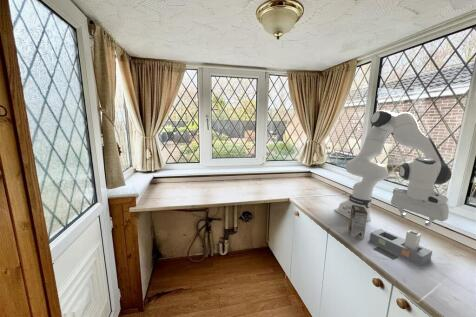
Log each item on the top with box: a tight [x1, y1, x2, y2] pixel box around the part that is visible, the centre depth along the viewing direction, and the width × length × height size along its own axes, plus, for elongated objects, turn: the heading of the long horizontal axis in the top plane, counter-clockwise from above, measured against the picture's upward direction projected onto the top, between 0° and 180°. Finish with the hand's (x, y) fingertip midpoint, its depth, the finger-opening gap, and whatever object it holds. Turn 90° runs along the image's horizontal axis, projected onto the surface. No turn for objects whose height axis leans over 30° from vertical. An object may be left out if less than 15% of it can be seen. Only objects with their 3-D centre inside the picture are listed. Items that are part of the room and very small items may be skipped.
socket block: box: [369, 228, 433, 267], centre depth 100 cm, size 22×10×5 cm, turn 28°
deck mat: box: [372, 246, 399, 261], centre depth 97 cm, size 9×5×1 cm, turn 28°
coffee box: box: [348, 205, 368, 240], centre depth 112 cm, size 9×6×16 cm
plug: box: [404, 229, 422, 252], centre depth 95 cm, size 4×4×11 cm
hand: (414, 221), depth 93 cm, fingers open, 8 cm apart
